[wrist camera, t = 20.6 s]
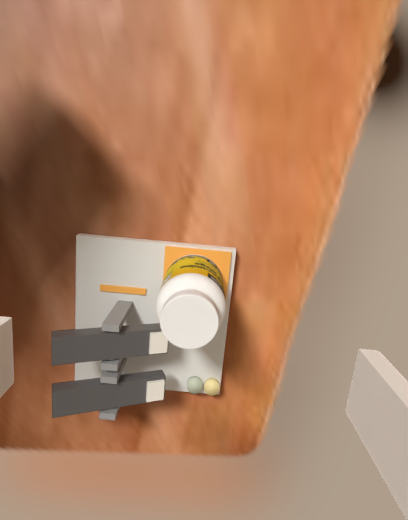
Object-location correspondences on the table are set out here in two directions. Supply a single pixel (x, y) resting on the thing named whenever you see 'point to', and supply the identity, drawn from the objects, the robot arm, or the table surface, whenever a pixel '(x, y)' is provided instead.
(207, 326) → the pill bottle
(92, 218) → the table surface
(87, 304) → the breaker panel
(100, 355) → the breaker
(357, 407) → the robot arm
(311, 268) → the table surface
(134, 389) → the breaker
